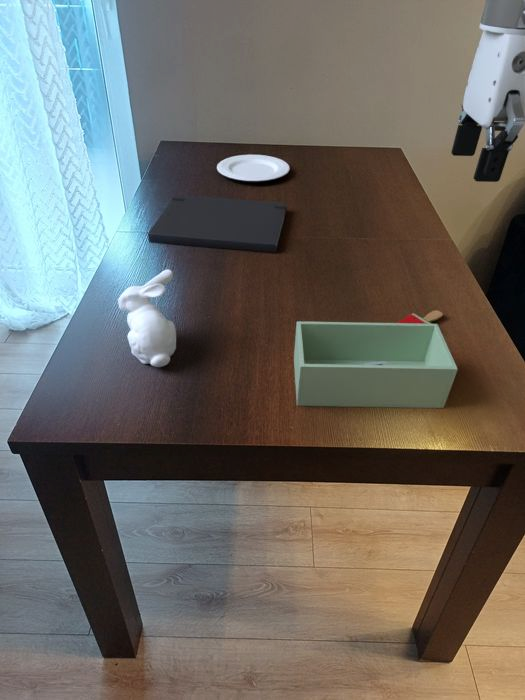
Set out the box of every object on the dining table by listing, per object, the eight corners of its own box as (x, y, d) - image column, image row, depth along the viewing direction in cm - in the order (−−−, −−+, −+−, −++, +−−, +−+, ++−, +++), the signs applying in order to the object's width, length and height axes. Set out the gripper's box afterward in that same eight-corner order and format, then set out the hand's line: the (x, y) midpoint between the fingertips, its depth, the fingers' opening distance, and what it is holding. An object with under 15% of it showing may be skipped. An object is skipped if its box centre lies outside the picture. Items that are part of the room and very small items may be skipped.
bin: (425, 361, 79) (437, 323, 74) (443, 408, 71) (458, 369, 66) (293, 359, 79) (296, 321, 74) (296, 405, 71) (300, 366, 66)
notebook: (148, 242, 108) (275, 253, 105) (147, 233, 107) (276, 244, 104) (176, 202, 125) (286, 211, 122) (175, 194, 123) (287, 202, 120)
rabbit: (121, 336, 83) (107, 274, 75) (174, 321, 86) (167, 260, 78) (141, 380, 74) (129, 316, 67) (200, 362, 78) (194, 299, 70)
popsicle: (451, 315, 86) (395, 347, 79) (449, 321, 87) (393, 354, 80) (430, 303, 89) (374, 334, 82) (428, 310, 90) (372, 340, 83)
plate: (203, 169, 143) (202, 162, 142) (261, 156, 153) (261, 149, 151) (244, 192, 130) (244, 185, 129) (304, 176, 140) (304, 170, 139)
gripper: (588, 26, 49) (526, 193, 60) (520, 8, 63) (479, 147, 73) (514, 24, 49) (465, 191, 60) (461, 6, 62) (429, 146, 73)
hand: (473, 167), depth 67 cm, fingers open, 9 cm apart
